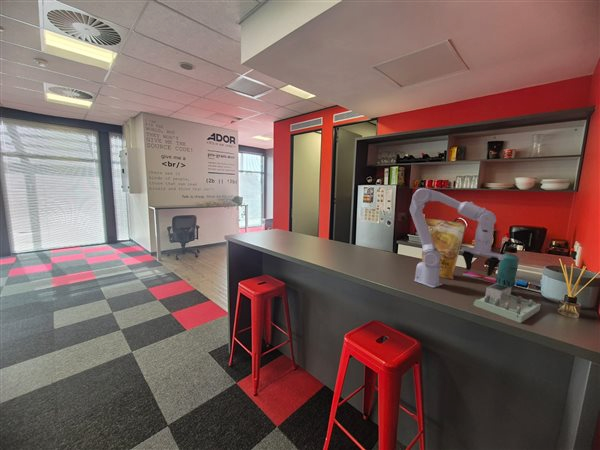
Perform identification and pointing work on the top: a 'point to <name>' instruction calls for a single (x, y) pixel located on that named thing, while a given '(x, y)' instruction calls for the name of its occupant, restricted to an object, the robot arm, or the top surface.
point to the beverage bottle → (508, 268)
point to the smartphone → (480, 277)
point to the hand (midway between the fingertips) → (478, 272)
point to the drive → (498, 293)
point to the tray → (510, 307)
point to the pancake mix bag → (446, 243)
